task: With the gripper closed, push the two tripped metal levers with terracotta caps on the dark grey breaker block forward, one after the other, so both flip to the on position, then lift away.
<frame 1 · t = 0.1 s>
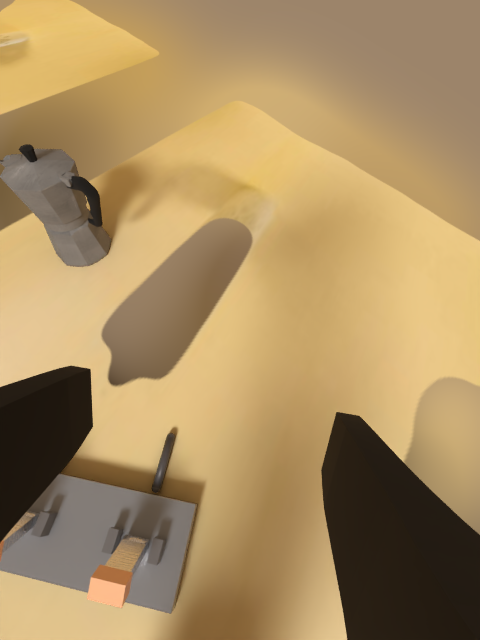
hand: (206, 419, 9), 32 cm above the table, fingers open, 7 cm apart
breaker block: (89, 529, 34), on the table
lever b: (3, 534, 30), point 5 cm above the table, hinge at -28.0°
coffeepot: (90, 250, 54), on the table
lever a: (123, 563, 29), point 5 cm above the table, hinge at -28.0°
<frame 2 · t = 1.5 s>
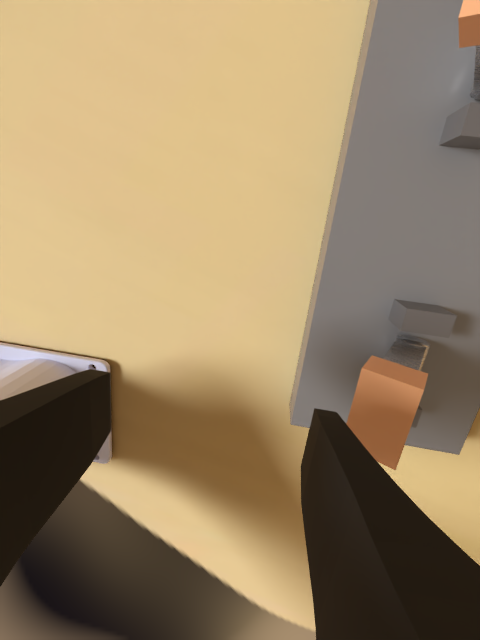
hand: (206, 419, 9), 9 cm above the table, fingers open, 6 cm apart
breaker block: (419, 229, 15), on the table
lever a: (395, 383, 13), point 5 cm above the table, hinge at -28.0°
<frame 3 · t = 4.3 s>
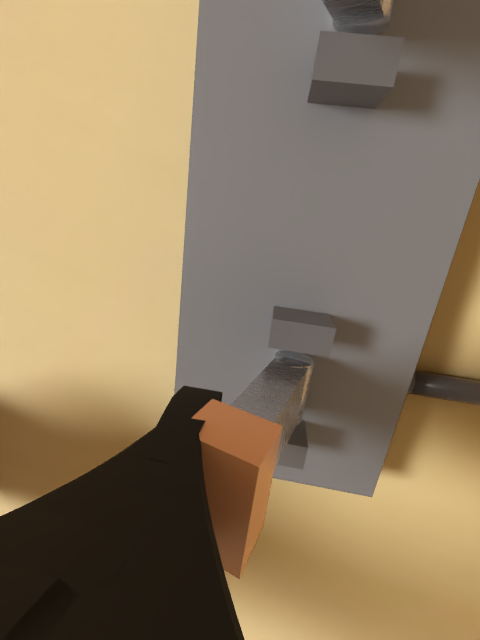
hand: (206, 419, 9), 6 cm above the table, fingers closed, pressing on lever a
breaker block: (312, 218, 12), on the table
lever a: (264, 424, 9), point 5 cm above the table, hinge at -18.2°, touching gripper
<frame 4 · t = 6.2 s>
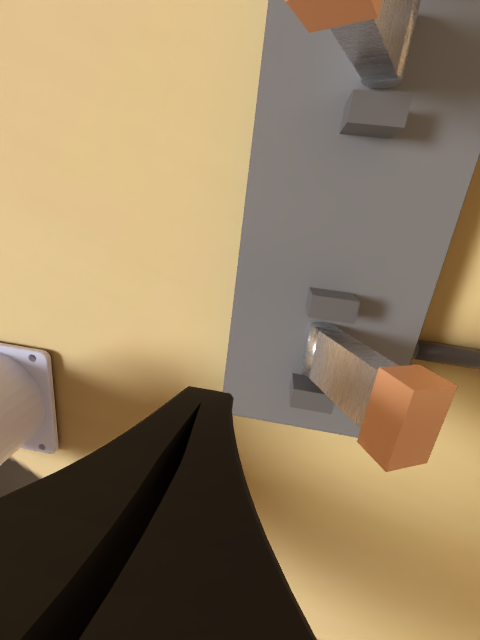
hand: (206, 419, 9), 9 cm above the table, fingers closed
breaker block: (338, 218, 15), on the table
lever a: (354, 377, 13), point 5 cm above the table, hinge at 26.5°
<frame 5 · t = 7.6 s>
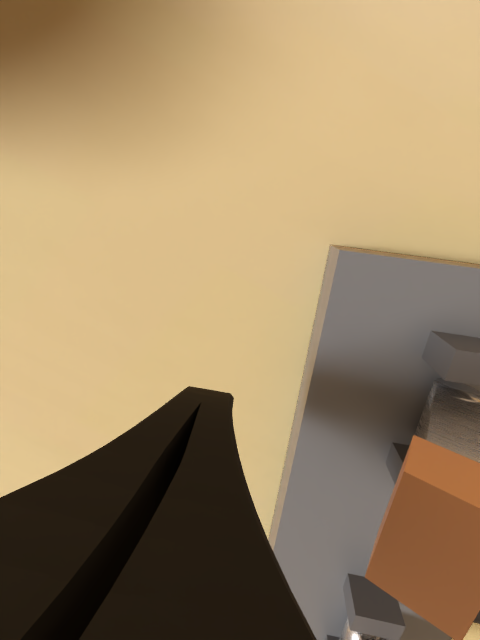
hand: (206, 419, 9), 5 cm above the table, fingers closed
breaker block: (375, 488, 15), on the table
lever b: (441, 462, 8), point 5 cm above the table, hinge at -28.0°
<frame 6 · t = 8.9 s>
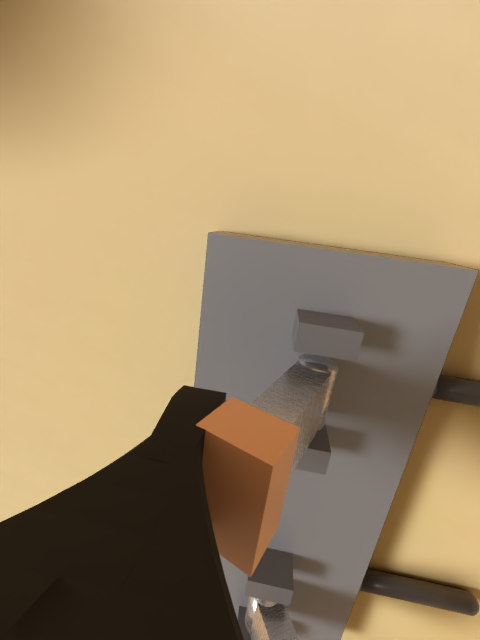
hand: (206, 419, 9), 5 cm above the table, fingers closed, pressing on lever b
breaker block: (282, 465, 16), on the table
lever b: (283, 426, 9), point 5 cm above the table, hinge at -23.9°, touching gripper
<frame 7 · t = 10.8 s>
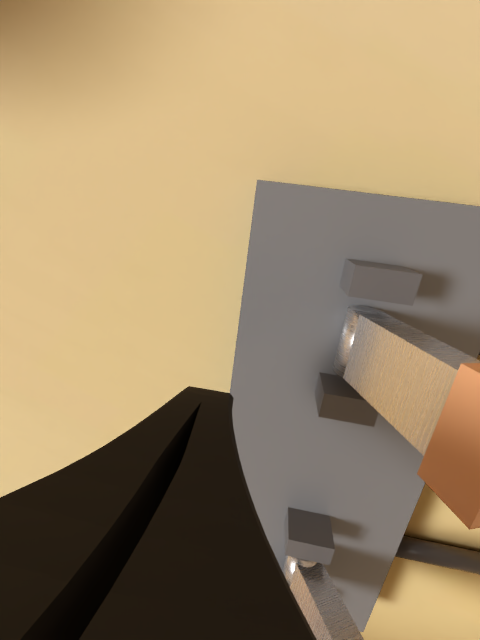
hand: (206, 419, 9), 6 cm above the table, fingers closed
breaker block: (317, 429, 16), on the table
lever b: (411, 379, 9), point 5 cm above the table, hinge at 21.4°
lever a: (328, 631, 13), point 5 cm above the table, hinge at 26.9°
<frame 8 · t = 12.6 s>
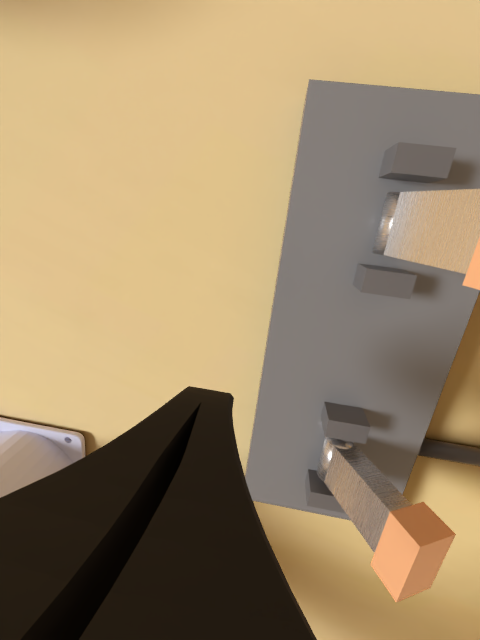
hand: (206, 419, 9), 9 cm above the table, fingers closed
breaker block: (349, 335, 17), on the table
lever b: (450, 230, 11), point 5 cm above the table, hinge at 22.0°
lever a: (366, 496, 14), point 5 cm above the table, hinge at 26.9°
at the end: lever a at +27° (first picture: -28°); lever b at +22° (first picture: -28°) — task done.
